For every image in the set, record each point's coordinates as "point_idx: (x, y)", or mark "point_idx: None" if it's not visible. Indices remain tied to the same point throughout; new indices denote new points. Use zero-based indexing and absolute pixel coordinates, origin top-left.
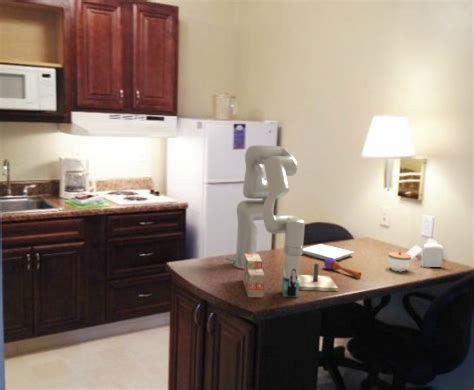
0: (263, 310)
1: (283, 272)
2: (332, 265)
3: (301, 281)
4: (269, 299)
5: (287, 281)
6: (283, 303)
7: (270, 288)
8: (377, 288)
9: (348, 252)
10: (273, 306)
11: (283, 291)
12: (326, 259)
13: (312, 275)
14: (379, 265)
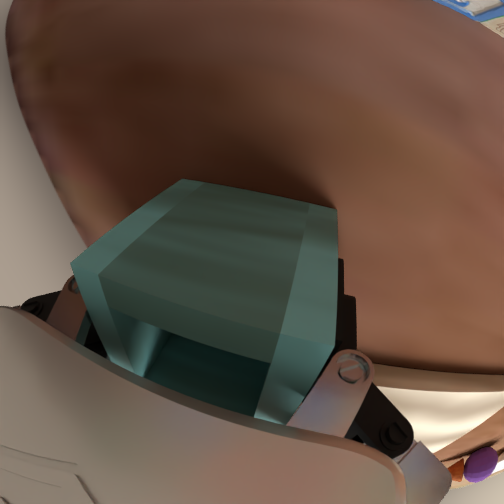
0: (7, 44)
1: (338, 457)
2: (467, 468)
3: (426, 405)
4: (111, 42)
5: (109, 313)
6: (63, 147)
7: (448, 122)
8: None
9: (500, 466)
10: (30, 83)
11: (189, 199)
12: (489, 471)
13: (459, 437)
14: None
